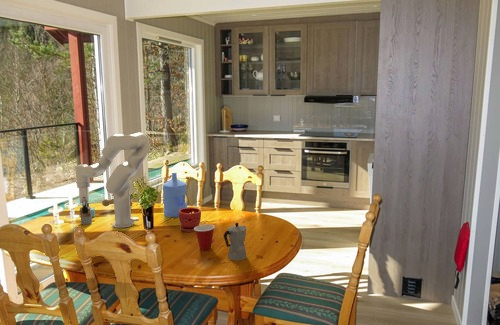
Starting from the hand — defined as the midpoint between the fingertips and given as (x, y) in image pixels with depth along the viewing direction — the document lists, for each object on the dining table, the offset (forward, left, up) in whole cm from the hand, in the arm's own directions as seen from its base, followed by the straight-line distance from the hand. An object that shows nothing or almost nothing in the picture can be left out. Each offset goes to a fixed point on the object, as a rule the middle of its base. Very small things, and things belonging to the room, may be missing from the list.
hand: (85, 211), depth 258 cm
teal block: (-2, -15, -8) cm, 17 cm away
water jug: (-56, 0, -8) cm, 56 cm away
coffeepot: (-74, +82, -8) cm, 111 cm away
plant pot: (-60, +33, -8) cm, 69 cm away
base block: (0, 0, -8) cm, 8 cm away
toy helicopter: (-20, -27, -8) cm, 34 cm away
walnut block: (0, 0, -3) cm, 3 cm away
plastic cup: (-62, +65, -8) cm, 90 cm away
